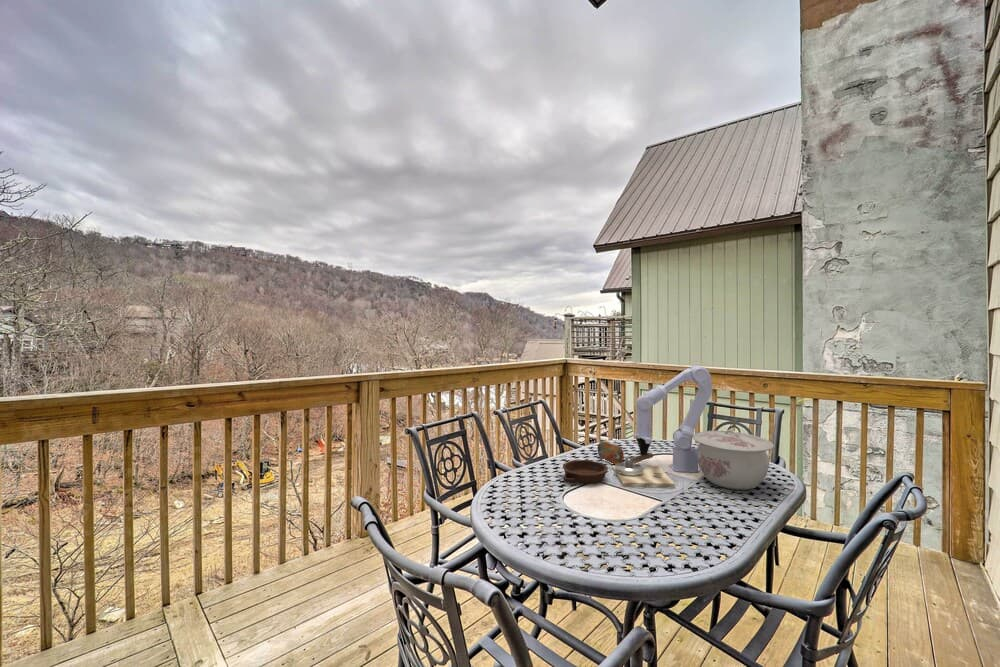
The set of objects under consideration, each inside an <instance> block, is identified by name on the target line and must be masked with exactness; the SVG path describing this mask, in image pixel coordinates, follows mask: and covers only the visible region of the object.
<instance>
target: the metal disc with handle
mask: <svg viewBox="0 0 1000 667" xmlns="http://www.w3.org/2000/svg"><path fill="white" fill-rule="evenodd" d="M653 457H654V455H653V453H652V452H649V453H647V454H644V455H641V454H640V455H636V456H631V457H625V459H624V461H623V462H621V463H617V464H615V465H614V466H615V471H616V472H617V473H619V474H622V475H627V476H639V475H642V474H643V466H644V465H641V464H639V463H636V462H640V461H641V462H642V461H644V460H649V459H652V458H653Z"/></svg>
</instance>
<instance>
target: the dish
mask: <svg viewBox="0 0 1000 667" xmlns="http://www.w3.org/2000/svg"><path fill="white" fill-rule="evenodd" d="M562 469H563V470H564V473H565V474H564V476H563V481H564V483H567V484H573V483H574V484H575V483H576V484H578V483H580V485H595V484H598V483H601V482H602V481H604V478H606V477H605V476H606V473H607V472H608V470H609V468H608V466H607V465H606V464H604V463H602V462H599V461H593V460H587V459H574V460H569V461H567V462H564V463H563V464H562Z"/></svg>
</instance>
